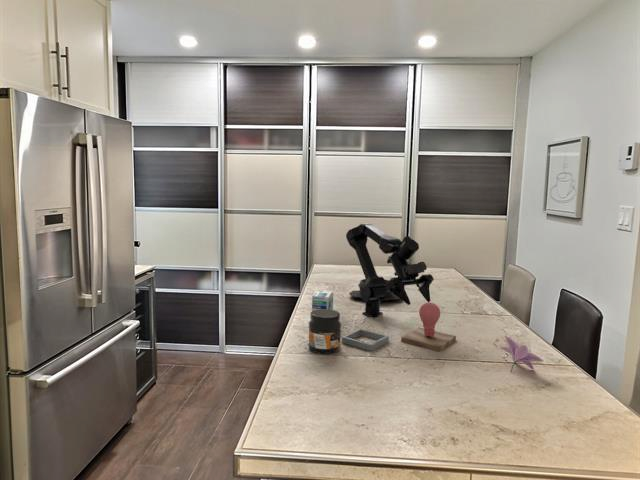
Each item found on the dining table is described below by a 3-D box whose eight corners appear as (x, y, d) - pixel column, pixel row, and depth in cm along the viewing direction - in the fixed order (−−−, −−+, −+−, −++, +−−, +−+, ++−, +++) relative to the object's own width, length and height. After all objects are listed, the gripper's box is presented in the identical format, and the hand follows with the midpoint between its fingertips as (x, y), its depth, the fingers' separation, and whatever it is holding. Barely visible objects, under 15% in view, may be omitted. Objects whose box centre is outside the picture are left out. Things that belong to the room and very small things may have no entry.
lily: (545, 383, 125) (552, 351, 127) (509, 368, 124) (518, 335, 126) (517, 378, 137) (525, 349, 139) (484, 365, 135) (493, 335, 137)
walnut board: (418, 331, 164) (418, 327, 164) (455, 340, 156) (455, 335, 155) (401, 341, 153) (401, 337, 153) (439, 351, 145) (440, 346, 144)
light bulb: (413, 335, 154) (415, 302, 153) (425, 331, 159) (427, 299, 158) (431, 341, 149) (433, 307, 148) (442, 336, 154) (445, 303, 153)
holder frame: (359, 333, 159) (360, 328, 159) (388, 341, 152) (388, 335, 152) (341, 342, 150) (341, 336, 150) (371, 351, 143) (371, 345, 143)
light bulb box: (328, 324, 169) (329, 297, 168) (311, 323, 170) (311, 295, 169) (333, 316, 179) (333, 290, 178) (316, 315, 181) (317, 289, 179)
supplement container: (317, 356, 137) (318, 319, 136) (302, 345, 147) (303, 310, 145) (346, 351, 142) (347, 315, 141) (330, 341, 152) (331, 307, 150)
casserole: (348, 302, 202) (348, 284, 200) (350, 292, 220) (350, 276, 219) (403, 305, 199) (404, 287, 198) (401, 295, 217) (401, 278, 216)
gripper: (391, 255, 156) (410, 293, 148) (432, 252, 165) (451, 288, 157) (377, 273, 164) (394, 310, 156) (416, 269, 173) (434, 304, 164)
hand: (419, 302), depth 158 cm, fingers open, 9 cm apart
